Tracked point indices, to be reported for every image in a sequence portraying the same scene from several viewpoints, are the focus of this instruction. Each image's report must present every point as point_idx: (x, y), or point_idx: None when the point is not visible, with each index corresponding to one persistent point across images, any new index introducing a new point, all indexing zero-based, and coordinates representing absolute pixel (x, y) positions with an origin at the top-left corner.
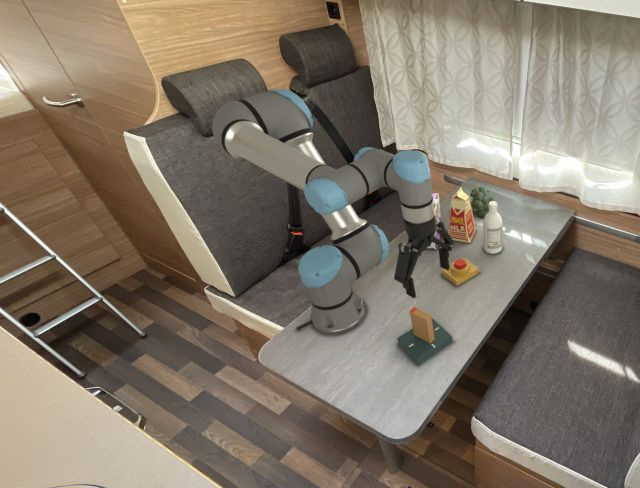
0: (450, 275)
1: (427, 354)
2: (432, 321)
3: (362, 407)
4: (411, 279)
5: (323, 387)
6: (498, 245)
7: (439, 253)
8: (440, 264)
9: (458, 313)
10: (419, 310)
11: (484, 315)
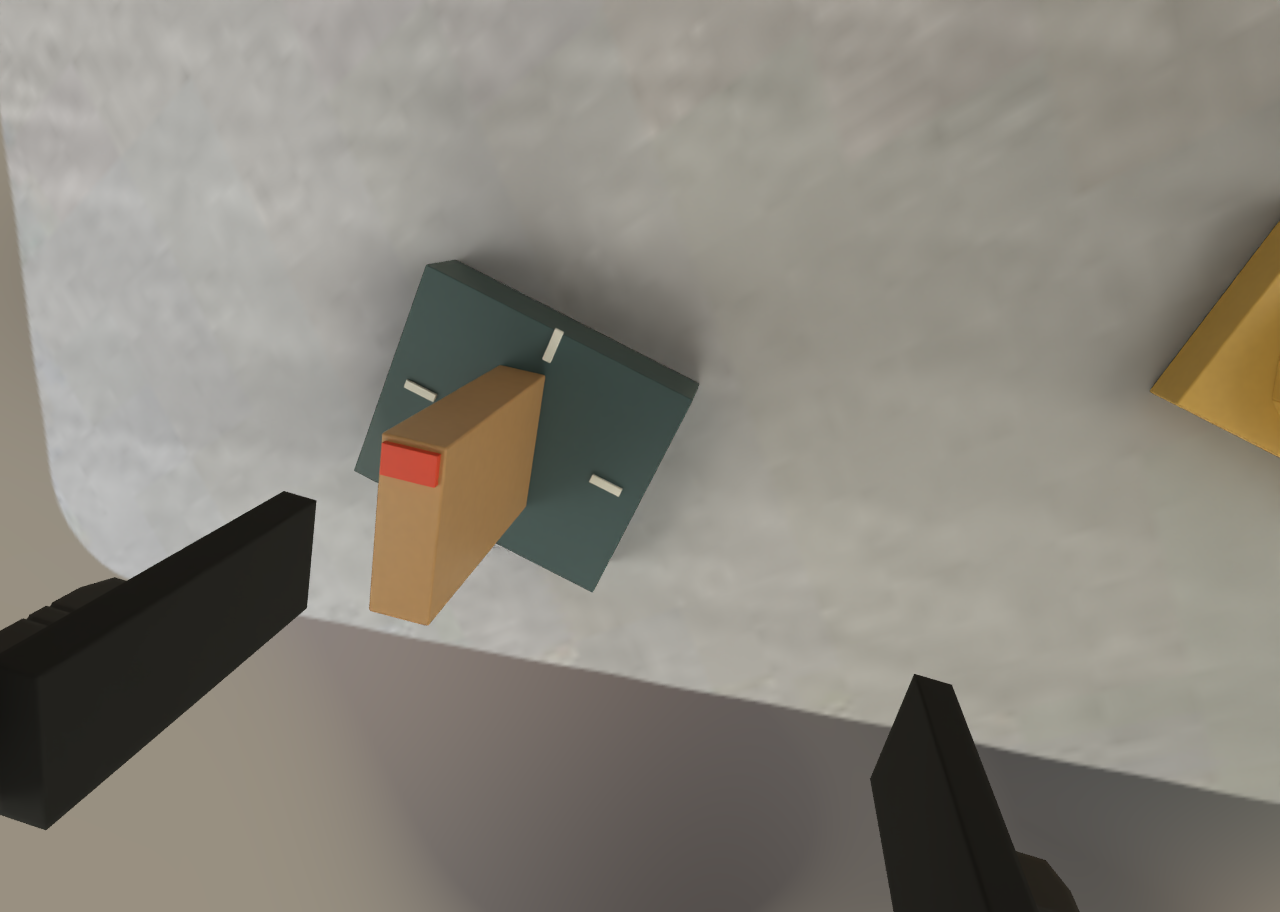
0: (1256, 319)
1: None
2: (657, 427)
3: (64, 303)
4: (18, 818)
5: (16, 3)
6: None
7: (973, 901)
8: (920, 711)
9: (849, 512)
10: (428, 514)
11: (883, 670)
